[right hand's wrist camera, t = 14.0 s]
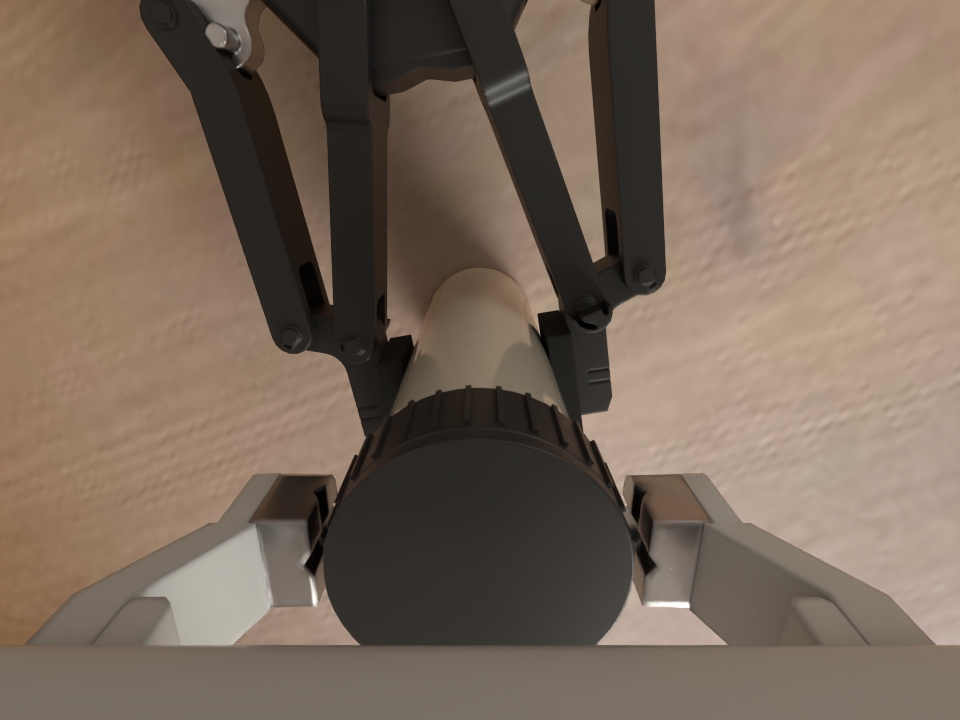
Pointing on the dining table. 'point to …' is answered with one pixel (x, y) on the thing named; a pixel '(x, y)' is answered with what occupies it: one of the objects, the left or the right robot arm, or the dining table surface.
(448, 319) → the jar
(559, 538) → the lid
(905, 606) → the dining table surface
